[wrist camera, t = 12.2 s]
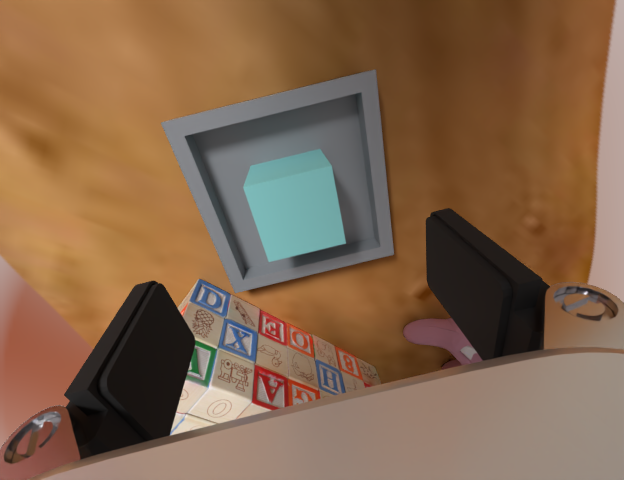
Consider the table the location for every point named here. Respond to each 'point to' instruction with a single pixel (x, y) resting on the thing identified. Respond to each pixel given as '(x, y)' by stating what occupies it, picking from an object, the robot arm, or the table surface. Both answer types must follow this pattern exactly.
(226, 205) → the tray
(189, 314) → the stack of blocks
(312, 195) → the cube
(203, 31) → the table surface
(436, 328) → the purple elongated lump
